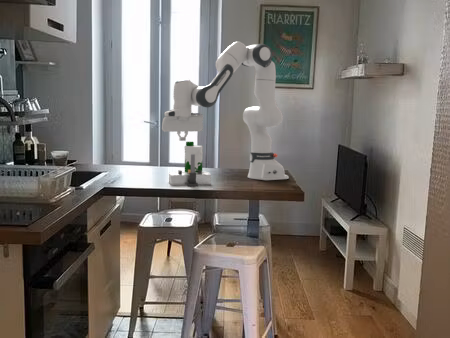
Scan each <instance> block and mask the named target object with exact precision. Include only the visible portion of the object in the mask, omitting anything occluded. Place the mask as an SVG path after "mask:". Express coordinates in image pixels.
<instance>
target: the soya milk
mask: <svg viewBox="0 0 450 338" xmlns="http://www.w3.org/2000/svg"><path fill="white" fill-rule="evenodd" d="M194 143H195V142H194V141H185V146H184V172H188V170H191V154H195V172H198V170H201V171H202V172H203V155H204V154H203V152H204V151H203V150H204V149H203V145H197V144H196V145H195V144H194Z"/></svg>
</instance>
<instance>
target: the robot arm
mask: <svg viewBox="0 0 450 338" xmlns="http://www.w3.org/2000/svg"><path fill="white" fill-rule="evenodd" d="M272 55H273V54H272V50H271V47H270V46H268V45H267V44H264V43H256V44H255V43H254V44H251V45H247V46H246V44H245V43H243V42H241V41H234V42H233V43H231V44H230V45H229V46H227V48H225V50H224V51H222V52H221V54H220V55H219V56H218V57H217V59H216V61H215V69H216V70H217V74H216V76H215V77H214V78H213V79H212V81H211V82H210V83H209V84H208V85H206V86H199V85H197V84H195V83H193V81H191V80H190V79H189V78H188V79H179V80H177V81H176V82H175V83H174V85H173V100H174V101H173V109H170V110H167V111H165V112H164V117H163V119H162V122H161V130H162V131H163V132H164V133H166V132H171V133H173V132H177V133H176V134H177V136H178V138H179V139H178V140H179V141H180V142H187V141H186V140H187V139H186V138H187V137H188V134H189V132H203V130H204V123H203V122H204V121H203V120H204V115H203V113H200V112H192V106H194V107H203V108H211V107H213V106H215V104H216V103H217V101H218V98H219V96H220V93H221V92H222V91H223V89H224V88H225V86H226V85H227V84H228V82H229V81H230V79H231V78H232V76H233V75H234V73H235V72H236V71H237V70H238V69H239V68H240V66H241V65H242V66H244V67H254V70H255V76H254V77H255V79H254V89H253V91H254V92H253V94H254V96H255V98H256V99H257V100H258V104H259V106H258V105H257V106H256V105H253V106H249V107H246V108H245V109H244V111H243V113H242V120H243V122H244V124H246V125H247V127H248V131H249V132H250V140H251V141H250V143H251V145H250V146H251V148H250V149H251V150H250V154H249V162H250V165H249V170H248V174H247V178H249V179H251V180H262V181H275V180H276V181H277V180H287V179H289V175H287V174H285V173H286V172H285V169H284V166H283V165H282V164H281V163H280V162H279V161H277V160H276V159H275V158H278V154H277V153H273V152H272V144H273V143H272V142H273V138H272V137H271V135H270V134H269V132H268V131H267V128H276V127H279V126H280V125H281V124H282V122H283V119H284V116H283V115H284V114H283V111H282V110H281V109H280V108H279V107H278V104H277V100H276V80H277V79H276V78H277V77H276V76H277V73H276V69H277V68H276V63H275V62H274V61H273V57H272ZM182 132H184V135H183V136H181V133H182Z"/></svg>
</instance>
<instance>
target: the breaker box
mask: <svg viewBox="0 0 450 338" xmlns="http://www.w3.org/2000/svg"><path fill="white" fill-rule="evenodd" d="M195 173H196V183H198V186H200V185H211V184H212V174H211V173H210V172H208V171H203V170H202V171H201V170H198V172H195ZM168 183H169V185H170V186H187V183H189V173H188V172H185V171H184V172H183V170H181V169H179V170H178V171H177V172H169V173H168Z"/></svg>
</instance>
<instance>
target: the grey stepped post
mask: <svg viewBox="0 0 450 338" xmlns="http://www.w3.org/2000/svg"><path fill="white" fill-rule="evenodd" d="M186 186H187V187H189V188H195V187H198V186H199V185H198V183H196V173H195V154H191V172H190V173H189V183H187V185H186Z"/></svg>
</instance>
